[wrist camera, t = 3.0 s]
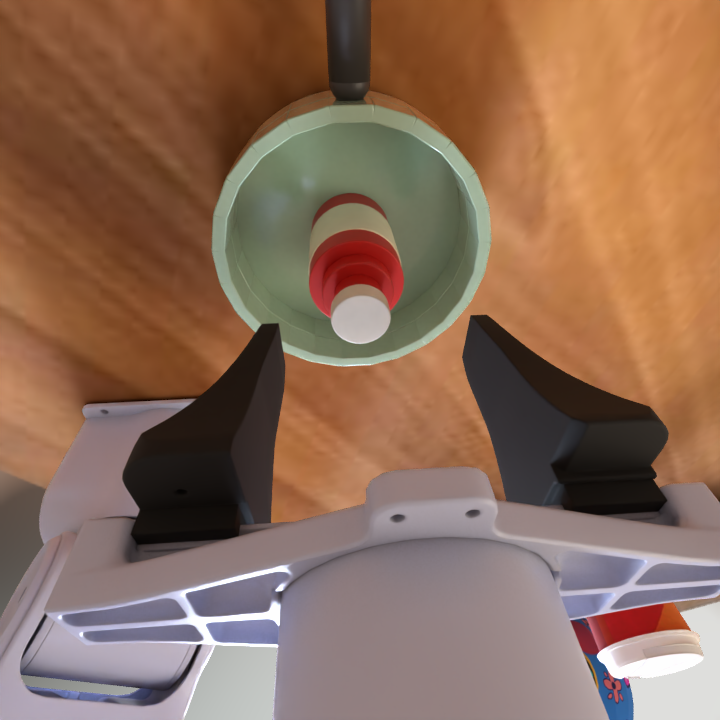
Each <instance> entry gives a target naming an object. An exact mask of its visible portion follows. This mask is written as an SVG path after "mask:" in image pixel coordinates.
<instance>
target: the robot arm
mask: <svg viewBox="0 0 720 720" xmlns="http://www.w3.org/2000/svg"><path fill="white" fill-rule="evenodd" d="M462 358H463V363H464V367H465V371H466V375H467V379H468V381H469V384H470V387H471V389H472V391H473V394H474V396H475V399H476V401H477V404H478V406H479V408H480V411H481V413H482V416H483V418H484V420H485V423H486V425H487V428H488V431H489V434H490V437H491V440H492V444H493V448H494V451H495V455H496V458H497V462H498V466H499V470H500V474H501V478H502V482H503V487H504V491H505V496H506V500H507V501H503V500H496V499H495V497H494V494H493V491H492V488H491V485H490V482H489V479H488V476H487V474H485V473H484V472H482V471H481V470H479V469H478V468H473V467H464V466H459V467H442V468H425V469H407V470H395V471H390V472H385V473H382V474H380V475H379V476H377V477H376V478H374V479H372V480H371V481H370V483H369V485H368V487H367V489H366V501H365V504H361V505H357V506H353V507H350V508H346V509H342V510H338V511H334V512H330V513H326V514H323V515H319V516H315V517H311V518H307V519H303V520H299V521H296V522H280V523H271V504H272V481H273V463H274V447H275V439H276V432H277V427H278V421H279V416H280V410H281V404H282V398H283V393H284V383H285V360H284V354H283V347H282V341H281V334H280V328H279V323H266V324H261V325H260V327H259V328H258V330H257V331H256V333H255V334H254V336H253V337H252V339H251V340H250V342H249V343H248V345H247V346H246V347H245V349H244V350H243V351H242V353H241V354H240V355H239V357H238V358H237V359H236V361H235V362H234V363H233V364H232V365H231V366H230V368H229V369H228V370H227V371H226V372H225V373H224V374H223V375H222V376H221V378H220V379H219V380H218V381H217V382H216V383H215V384H213V385H212V386H211V387H210V388H209V389H208V390H207V391H206V392H204V393H203V394H202V395H201V396H199V397H198V398H197V399H179V400H159V401H139V402H120V403H100V404H87V405H85V406H84V407H83V409H82V413H83V414H84V416H85V417H86V420H85V422H84V423H83V425H82V427H81V429H80V430H79V432H78V434H77V436H76V437H75V439H74V441H73V443H72V444H71V446H70V448H69V450H68V451H67V453H66V455H65V457H64V458H63V460H62V462H61V464H60V466H59V467H58V469H57V471H56V473H55V474H54V476H53V478H52V480H51V481H50V483H49V485H48V487H47V489H46V492H45V495H44V498H43V501H42V505H41V510H40V517H39V527H40V533H41V537H42V540H43V543H44V546H43V547H42V548H41V550H40V551H39V553H38V554H37V556H36V557H35V559H34V560H33V562H32V563H31V565H30V567H29V568H28V570H27V571H26V573H25V575H24V577H23V579H22V580H21V582H20V583H19V585H18V587H17V589H16V591H15V592H14V594H13V596H12V598H11V599H10V602H9V603H8V605H7V607H6V609H5V611H4V613H3V615H2V617H1V618H0V720H184V716H185V714H186V712H187V710H188V707H189V704H190V701H191V698H192V695H193V693H194V690H195V687H196V685H197V682H198V680H199V677H200V675H201V673H202V670H203V668H204V667H205V665H206V664H207V662H208V660H209V658H210V656H211V654H212V652H213V649H214V647H215V645H240V646H267V647H269V646H270V647H278V648H277V662H276V676H275V690H274V704H273V720H609V717H608V714H607V712H606V709H605V707H604V704H603V702H602V699H601V697H600V694H599V692H598V689H597V687H596V684H595V682H594V679H593V677H592V674H591V672H590V669H589V667H588V664H587V662H586V659H585V657H584V654H583V652H582V649H581V647H580V644H579V642H578V639H577V637H576V634H575V631H574V629H573V626H572V624H571V621H570V620H575V619H580V618H585V617H590V616H596V615H601V614H606V613H611V612H617V611H622V610H627V609H633V608H638V607H644V606H650V605H656V604H663V603H670V602H677V601H685V600H696V599H706V598H715V597H716V596H718V595H719V594H720V502H719V501H718V500H717V498H716V497H715V496H714V495H713V493H712V492H711V491H710V490H709V488H708V487H707V486H706V485H705V483H703V482H691V483H675V484H668V485H665V486H662V487H660V488H659V487H658V486H657V485H656V483H655V482H654V480H653V479H655V478H656V477H657V475H656V472H655V471H654V469H653V468H652V467H651V464H652V463H653V461H654V460H655V459H656V457H657V456H658V454H659V453H660V452H661V450H662V449H663V448H664V446H665V444H666V442H667V440H668V434H669V432H668V430H667V428H666V426H665V425H664V424H663V422H662V421H661V420H660V419H659V417H658V416H657V415H656V414H655V412H654V411H653V410H652V409H651V408H650V407H649V406H646V405H643V404H640V403H636V402H633V401H630V400H627V399H624V398H621V397H618V396H616V395H613V394H611V393H608V392H606V391H603V390H601V389H598V388H596V387H594V386H591V385H589V384H587V383H585V382H583V381H581V380H579V379H577V378H575V377H573V376H571V375H569V374H567V373H565V372H564V371H562V370H560V369H559V368H557V367H555V366H554V365H552V364H550V363H549V362H547V361H546V360H544V359H543V358H541V357H540V356H538V355H537V354H535V353H534V352H533V351H531V350H530V349H528V348H527V347H526V346H525V345H523V344H522V343H521V342H519V341H518V340H517V339H516V338H514V337H513V336H512V335H511V334H509V333H508V332H507V331H506V330H505V329H503V328H502V327H501V326H500V325H499V324H497V323H496V322H495V321H494V320H493V319H491V318H490V317H489V316H487V315H471V317H470V321H469V326H468V331H467V336H466V341H465V346H464V351H463V356H462ZM104 409H105V410H104ZM21 675H28V676H37V677H46V678H56V679H64V680H72V681H81V682H90V683H99V684H108V685H117V686H126V687H135V688H140V689H138V690H137V691H135V692H133V693H131V694H127V695H117V696H116V695H107V694H96V693H87V692H77V691H67V690H56V689H47V688H38V687H30V686H27V685H25V684H24V682H23V681H22V678H21Z"/></svg>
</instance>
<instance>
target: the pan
mask: <svg viewBox="0 0 720 720" xmlns="http://www.w3.org/2000/svg"><path fill="white" fill-rule="evenodd" d="M346 193H356V194H361V195H364V196H367V197H369V198H371V199H372V200H374V201H375V202H376V203H377V204H378V205H379V206H380V207H381V208H382V210H383V211H384V213H385V215H386V217H387V220H388V223H389V225H390V227H391V230H392V233H393V237H394V240H395V243H396V246H397V250H398V253H399V256H400V260H401V267H402V270H403V275H404V286H403V291H402V294H401V296H400V299H399V300H398V302H397V303H396V305H395V306H394V307H393V308H392V309H391V310H390V314H391V320H390V324H389V327H388V329H387V330H386V332H385V333H384V334H383V335H382V336H381V337H379V338H378V339H376V340H374V341H371V342H368V343H361V344H360V343H351V342H348V341H346V340H344V339H342V338H341V337H339V336H338V335H337V334H336V333H335V331H334V329H333V327H332V324H331V318H330V317H328V316H326V315H325V314H324V313H323V312H321V311H320V309H319V308H318V307H317V306H316V304H315V303H314V301H313V299H312V297H311V294H310V290H309V274H308V267H309V248H310V236H311V229H312V222H313V219H314V216H315V214H316V213H317V211H318V209H319V208H320V207H321V206H322V205H323V204H324V203H325V202H326V201H328V200H329V199H331V198H333V197H335V196H337V195H341V194H346ZM491 240H492V239H491V224H490V210H489V204H488V202H487V199H486V196H485V194H484V191H483V188H482V186H481V183H480V181H479V178H478V175H477V173H476V172H475V169H474V168H473V167H472V166H471V164H470V163H469V162H468V161H467V159H466V158H465V157H464V155H463V154H462V153H461V152H460V150H459V149H458V148H457V147H456V145H455V144H454V143H453V142H452V141H451V139H450V138H449V137H448V136H447V135H446V134H445V133H444V132H443V131H442V130H441V129H440V128H439V127H438V126H437V125H436V124H435V123H434V122H433V121H432V120H431V119H429V118H428V117H426V116H425V115H423V114H422V113H421V112H420V111H418V110H417V109H415V108H414V107H412V106H410V105H409V104H407V103H406V102H403V101H402V100H399V99H396V98H394V97H391V96H389V95H386V94H383V93H378V92H374V91H369V90H368V92H367V94H366V96H365V97H364V98H363V99H362V100H356V101H342V100H338V99H336V98H335V96H334V95H333V94H332V92H331V90H328V91H324V92H320V93H316V94H312V95H309V96H306V97H304V98H301V99H299V100H297V101H294V102H292V103H290V104H289V105H287V106H286V107H284V108H282V109H281V110H279V111H278V112H276V113H275V114H274V115H273V116H271V117H270V118H269V119H268V120H267V121H265V122H264V123H263V124H262V125H261V126H260V127H259V128H258V129H257V131H256V132H255V133H254V134H253V136H252V137H251V138H250V139H249V141H248V143H247V144H246V145H245V147H244V148H243V149H242V151H241V152H240V153H239V155H238V157H237V159H236V161H235V162H234V164H233V166H232V168H231V170H230V171H229V173H228V175H227V177H226V179H225V181H224V184H223V187H222V190H221V192H220V195H219V198H218V201H217V204H216V207H215V209H214V212H213V222H212V246H211V249H212V255H213V259H214V263H215V267H216V271H217V275H218V279H219V282H220V285H221V287H222V288H223V290H224V292H225V294H226V296H227V297H228V299H229V301H230V303H231V304H232V306H233V308H234V310H235V311H236V313H237V314H238V315H239V316H240V317H241V318H242V319H243V320H244V321H245V322H246V323H247V324H248V325H249V326H250V327H251V328H252V329H253V331H254V332H255V333H256V331H257V330H258V328H259V327H260V325H261V324H266V323H279V328H280V334H281V341H282V347H283V351H284V352H286V353H289V354H291V355H294V356H297V357H299V358H302V359H305V360H307V361H310V362H311V361H312V362H316V363H323V364H329V365H336V366H358V365H370V364H371V365H372V364H376V363H380V362H384V361H388V360H392V359H396V358H399V357H402V356H404V355H406V354H408V353H410V352H412V351H414V350H416V349H418V348H420V347H422V346H425V345H426V344H428V343H429V342H430V341H432V340H433V339H434V338H436V337H437V336H438V335H440V334H441V333H442V332H443V331H445V330H446V329H447V328H449V327H450V326H451V325H452V324H453V323H454V321H455V320H456V319H457V318H458V317H459V315H460V314H461V313H462V312H463V311H464V309H465V308H466V307H467V306H468V305H469V303H470V302H471V300H472V298H473V296H474V294H475V292H476V290H477V288H478V286H479V284H480V282H481V280H482V278H483V276H484V273H485V270H486V265H487V260H488V255H489V251H490V246H491Z"/></svg>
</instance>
